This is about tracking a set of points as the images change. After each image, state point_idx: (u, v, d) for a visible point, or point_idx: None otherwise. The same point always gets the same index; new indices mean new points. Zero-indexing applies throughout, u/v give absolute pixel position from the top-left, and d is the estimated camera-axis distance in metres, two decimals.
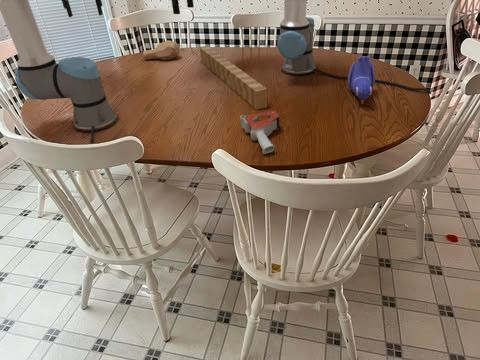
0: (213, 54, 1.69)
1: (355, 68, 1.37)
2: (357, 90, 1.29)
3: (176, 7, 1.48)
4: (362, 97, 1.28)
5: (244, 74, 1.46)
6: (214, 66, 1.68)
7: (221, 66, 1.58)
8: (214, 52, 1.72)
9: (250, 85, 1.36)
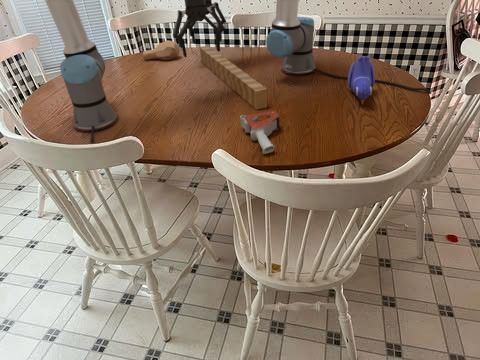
0: (213, 54, 1.69)
1: (355, 68, 1.37)
2: (357, 90, 1.29)
3: (192, 37, 1.70)
4: (362, 97, 1.28)
5: (244, 74, 1.46)
6: (214, 66, 1.68)
7: (221, 66, 1.58)
8: (214, 52, 1.72)
9: (250, 85, 1.36)
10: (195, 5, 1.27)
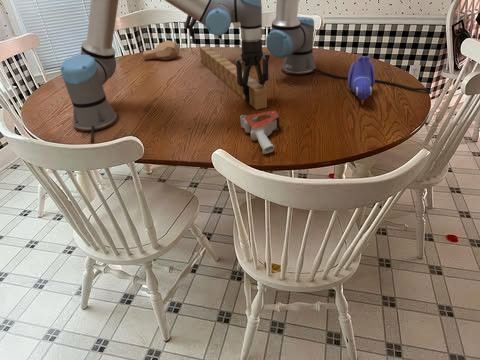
0: (213, 54, 1.69)
1: (355, 68, 1.37)
2: (357, 90, 1.29)
3: (192, 37, 1.70)
4: (362, 97, 1.28)
5: None
6: (214, 66, 1.68)
7: (221, 66, 1.58)
8: (214, 52, 1.72)
9: (250, 85, 1.36)
10: (254, 51, 1.26)
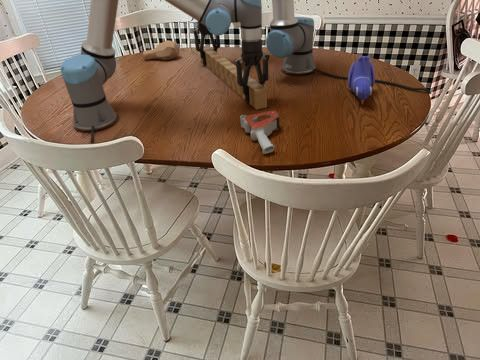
0: (213, 54, 1.69)
1: (355, 68, 1.37)
2: (357, 90, 1.29)
3: (203, 59, 1.78)
4: (362, 97, 1.28)
5: None
6: (214, 66, 1.68)
7: (221, 66, 1.58)
8: (214, 52, 1.72)
9: (250, 85, 1.36)
10: (254, 51, 1.26)
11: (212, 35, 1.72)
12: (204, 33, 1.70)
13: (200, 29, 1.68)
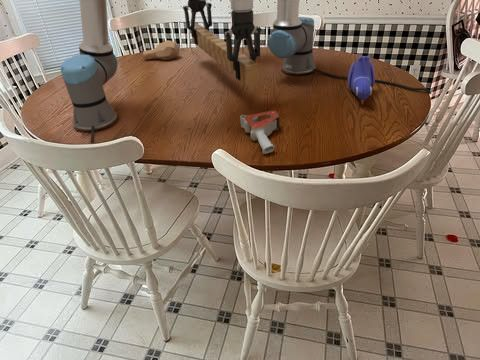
0: (204, 32, 1.62)
1: (355, 68, 1.37)
2: (357, 90, 1.29)
3: (194, 38, 1.70)
4: (362, 97, 1.28)
5: None
6: (205, 45, 1.60)
7: (212, 43, 1.51)
8: (205, 30, 1.65)
9: (241, 60, 1.28)
10: (244, 22, 1.19)
11: (203, 12, 1.64)
12: (195, 10, 1.62)
13: (191, 5, 1.61)
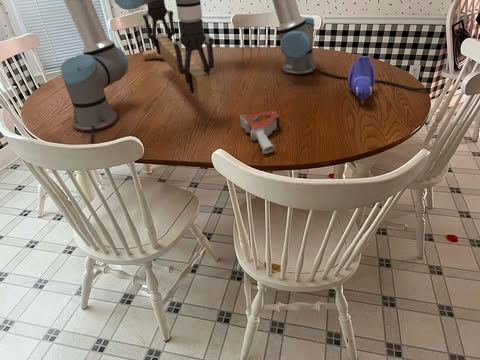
0: (165, 42, 1.54)
1: (355, 68, 1.37)
2: (357, 90, 1.29)
3: (157, 48, 1.62)
4: (362, 97, 1.28)
5: (191, 61, 1.30)
6: (165, 55, 1.52)
7: (170, 54, 1.43)
8: (167, 39, 1.57)
9: (193, 73, 1.20)
10: (192, 33, 1.11)
11: (164, 21, 1.56)
12: (155, 18, 1.54)
13: (150, 14, 1.53)
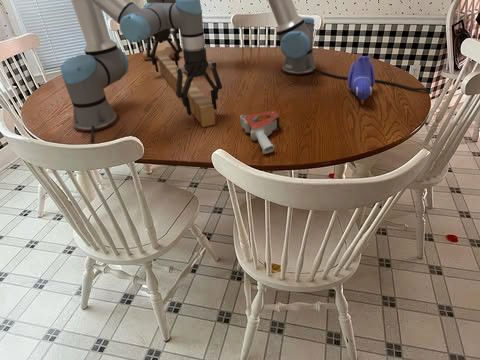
0: (169, 65, 1.60)
1: (355, 68, 1.37)
2: (357, 90, 1.29)
3: (155, 66, 1.66)
4: (362, 97, 1.28)
5: (194, 88, 1.36)
6: (169, 78, 1.58)
7: (174, 78, 1.49)
8: (171, 62, 1.63)
9: (197, 101, 1.26)
10: (196, 61, 1.16)
11: (169, 40, 1.61)
12: (158, 39, 1.59)
13: (154, 35, 1.58)
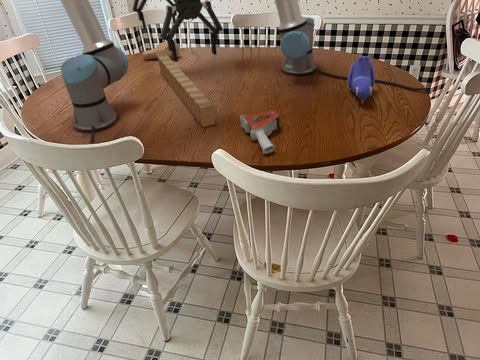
0: (169, 65, 1.60)
1: (355, 68, 1.37)
2: (357, 90, 1.29)
3: (142, 22, 1.54)
4: (362, 97, 1.28)
5: (194, 88, 1.36)
6: (169, 78, 1.58)
7: (174, 78, 1.49)
8: (171, 62, 1.63)
9: (197, 101, 1.26)
10: None
11: None
12: None
13: None
